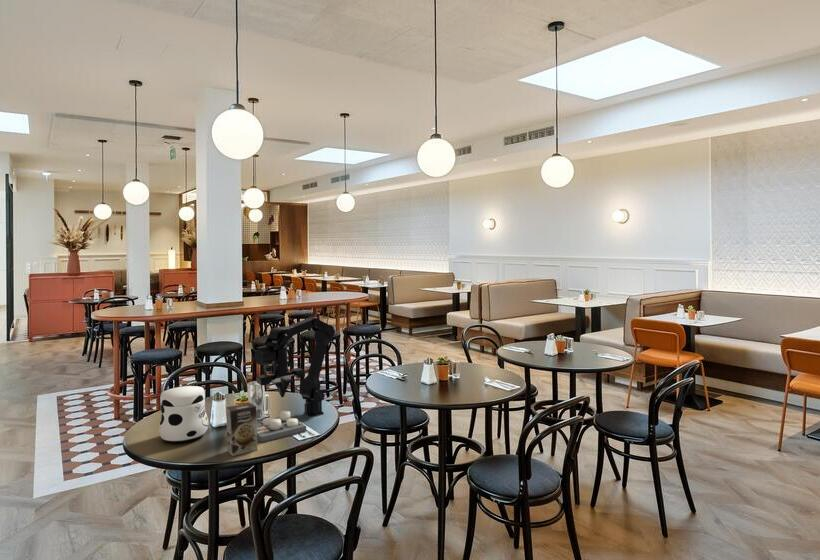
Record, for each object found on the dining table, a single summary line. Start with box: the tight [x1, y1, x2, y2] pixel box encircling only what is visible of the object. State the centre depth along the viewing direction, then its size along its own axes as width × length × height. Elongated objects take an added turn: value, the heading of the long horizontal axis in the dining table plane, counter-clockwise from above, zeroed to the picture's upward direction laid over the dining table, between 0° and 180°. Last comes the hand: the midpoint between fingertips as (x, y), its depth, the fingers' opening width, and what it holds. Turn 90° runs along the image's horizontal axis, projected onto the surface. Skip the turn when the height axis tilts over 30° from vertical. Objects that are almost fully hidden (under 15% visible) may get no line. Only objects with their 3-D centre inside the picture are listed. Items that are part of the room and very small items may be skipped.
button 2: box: [269, 419, 281, 430], centre depth 199 cm, size 4×4×3 cm
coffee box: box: [225, 402, 258, 457], centre depth 183 cm, size 9×6×16 cm
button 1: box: [262, 417, 275, 427], centre depth 205 cm, size 4×4×3 cm
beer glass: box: [247, 380, 266, 421], centre depth 218 cm, size 7×7×15 cm
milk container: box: [158, 385, 209, 443], centre depth 197 cm, size 17×17×18 cm
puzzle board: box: [257, 416, 307, 444], centre depth 203 cm, size 18×17×3 cm
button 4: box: [287, 417, 299, 428], centre depth 203 cm, size 4×4×3 cm
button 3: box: [278, 410, 292, 421], centre depth 209 cm, size 4×4×3 cm
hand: (282, 397), depth 209 cm, fingers closed
